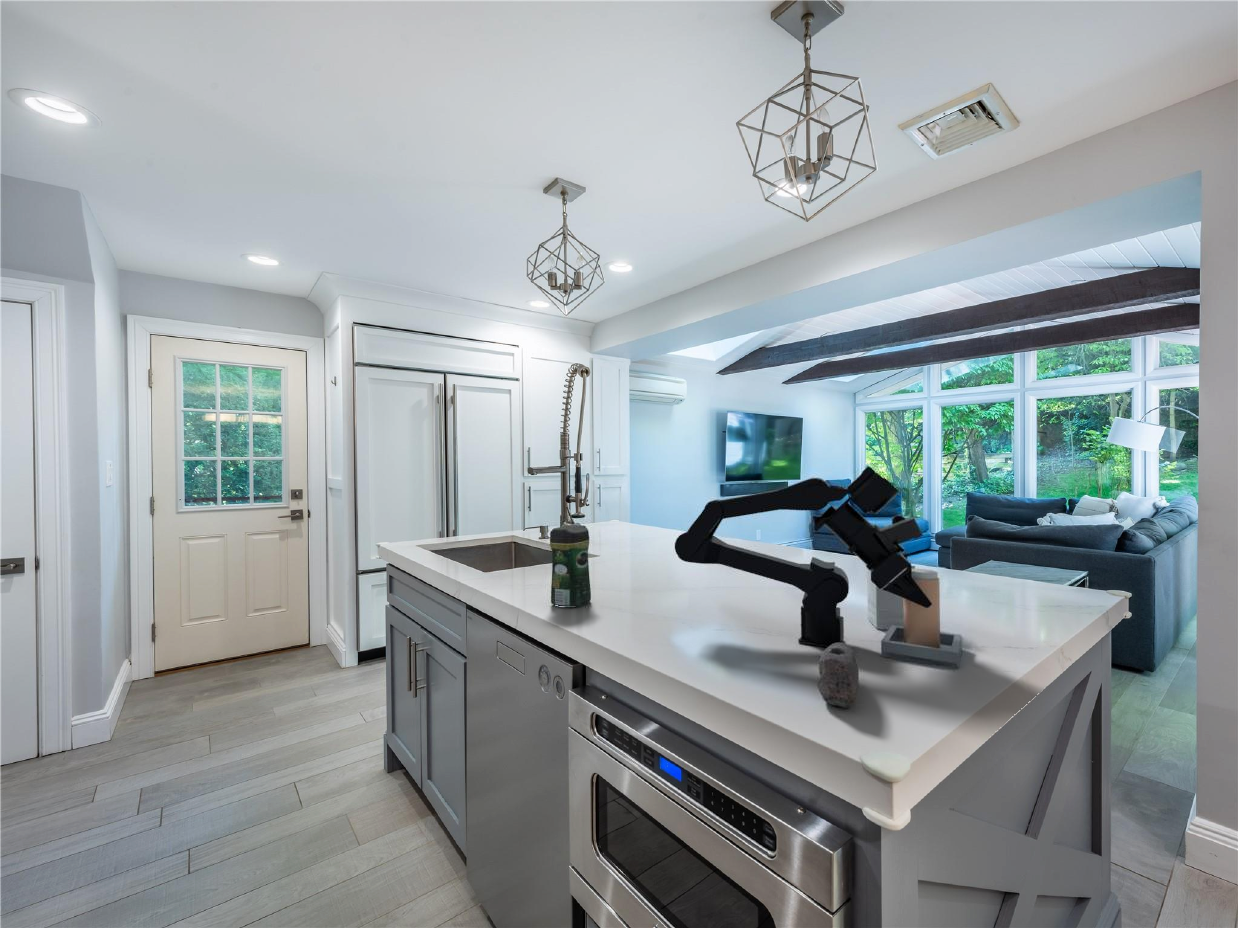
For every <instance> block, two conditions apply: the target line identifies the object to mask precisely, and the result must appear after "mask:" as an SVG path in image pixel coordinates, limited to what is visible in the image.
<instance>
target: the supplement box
mask: <svg viewBox="0 0 1238 928" xmlns="http://www.w3.org/2000/svg"><path fill="white" fill-rule="evenodd" d="M911 565H912V569H916V566H915V565H914V564H912V563H911ZM866 584H867V585H866V589H867V591H866V592H867V620H868V621H869V622H870V623H871V625H873V626H874V628H875V629H877V630H887V631H888V630H889V628H890V627H891V625H894V626H901V627H904V626H903V598H902V597H900V596H898V595H895V594H893V593H890V592H888V591H884V590H883V589H882V588H881V589H879V588H878V587H877V586H876V585H875V584H874V583H873V582H872V581H871V571H870V570H869V569H868V568H867V567H866Z"/></svg>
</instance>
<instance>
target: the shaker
mask: <svg viewBox="0 0 1238 928" xmlns="http://www.w3.org/2000/svg"><path fill="white" fill-rule="evenodd" d="M938 573H939V572H937V571H935V570H931V569H925V568H924V569H923V568H915V569H912V578H913V579H914V580H915V582H916V583H917V584H918V586H919V587H920V588H921V589H922V591H923V592H924V593H925V595H926V596H927V597H928V599H929V600H930V601H931V603H932V605H931V606H930V607H929V608H925V607H923V606H921V605H919V604H916V603H914V602H912V601H909V600H907V599H905V598H903V626H904V643H908V644H914V645H921V646H928V647H934V648H940V632H941V605H940V603H941V597H940V596H941V595H940V593H941V591H940V589H941V587H940V578H939V577H938V575H939V574H938Z"/></svg>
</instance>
